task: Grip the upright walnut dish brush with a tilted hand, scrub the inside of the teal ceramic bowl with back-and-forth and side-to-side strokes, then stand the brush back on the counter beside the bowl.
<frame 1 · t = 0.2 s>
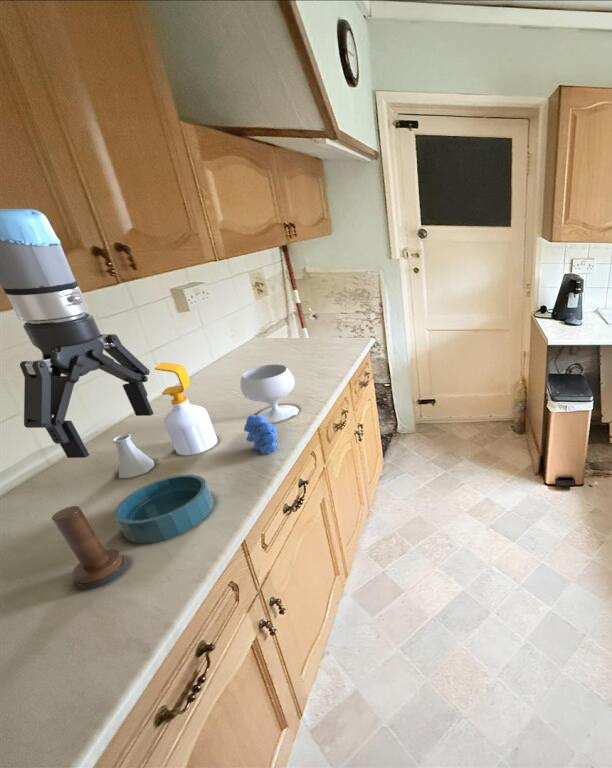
hand: (114, 434, 70), 24 cm above the countertop, tool pointing down, fingers open, 13 cm apart
dish brush: (105, 576, 71), on the countertop
soap bottle: (198, 448, 108), on the countertop
flask: (138, 472, 98), on the countertop
chalice: (277, 416, 124), on the countertop
grapes: (270, 452, 106), on the countertop
bowl: (172, 519, 84), on the countertop
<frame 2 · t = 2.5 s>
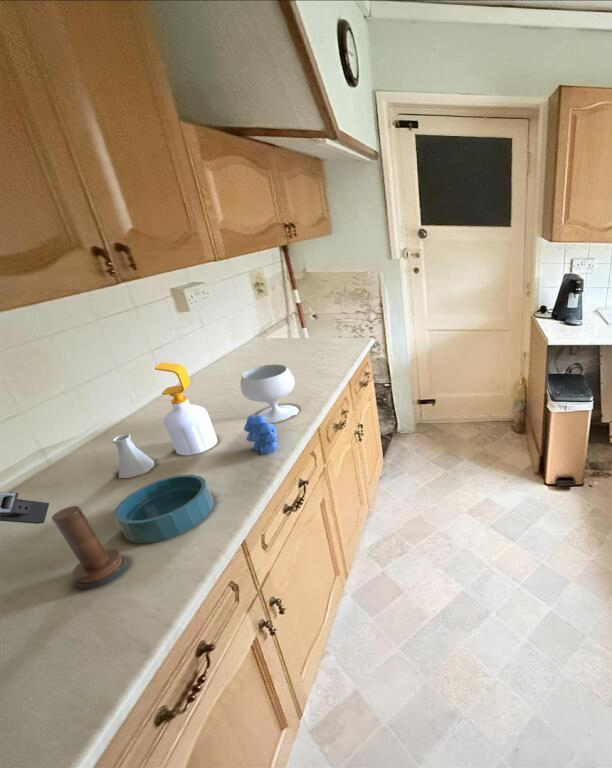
nothing on the countertop moved.
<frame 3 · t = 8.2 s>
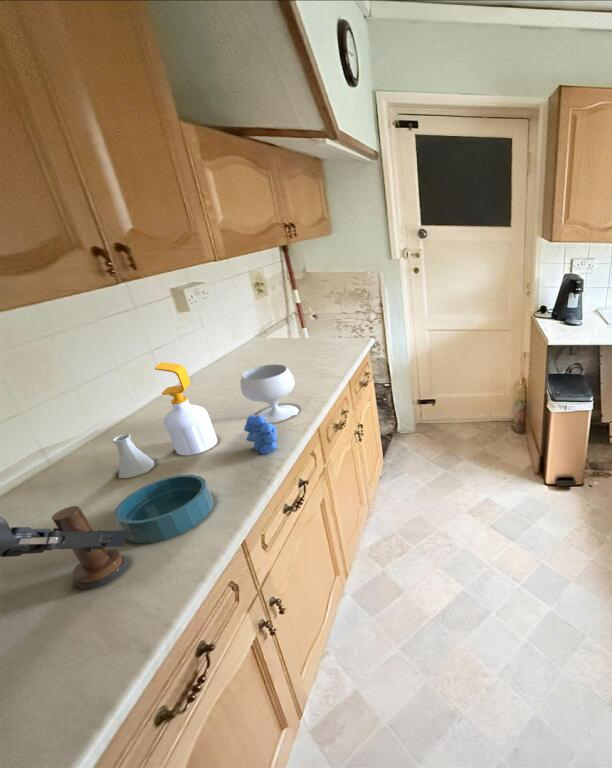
hand: (111, 538, 72), 5 cm above the countertop, tool tilted 45°, fingers closed on dish brush, 3 cm apart
dish brush: (105, 576, 71), on the countertop, touching gripper
everything else where it was.
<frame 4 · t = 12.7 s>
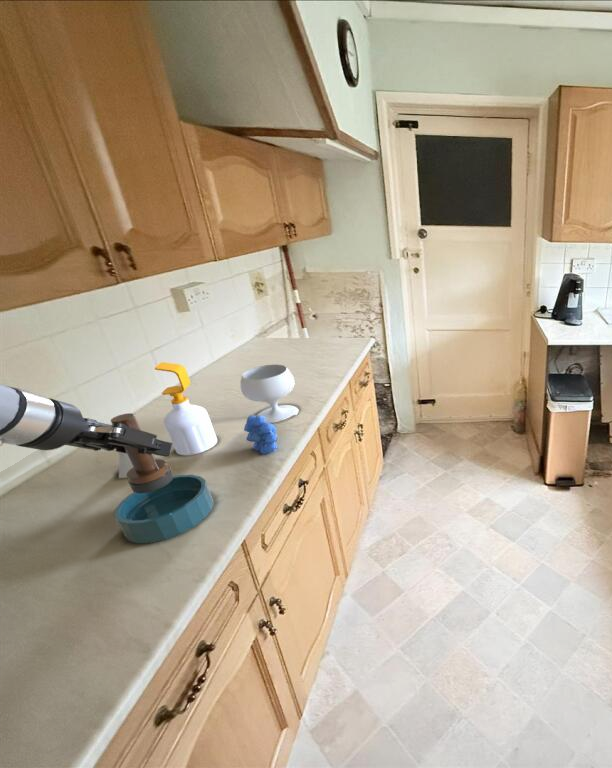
hand: (158, 450, 80), 15 cm above the countertop, tool tilted 45°, fingers closed on dish brush, 3 cm apart
dish brush: (153, 482, 79), point 10 cm above the countertop, touching gripper
everything else where it was.
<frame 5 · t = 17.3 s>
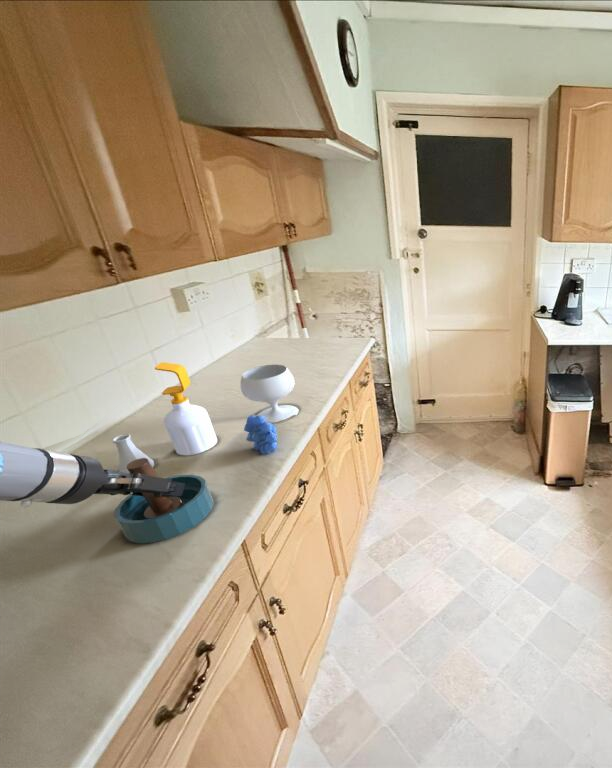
hand: (171, 490, 83), 6 cm above the countertop, tool tilted 45°, fingers closed on dish brush, 3 cm apart
dish brush: (169, 519, 82), point 1 cm above the countertop, touching gripper
everything else where it was.
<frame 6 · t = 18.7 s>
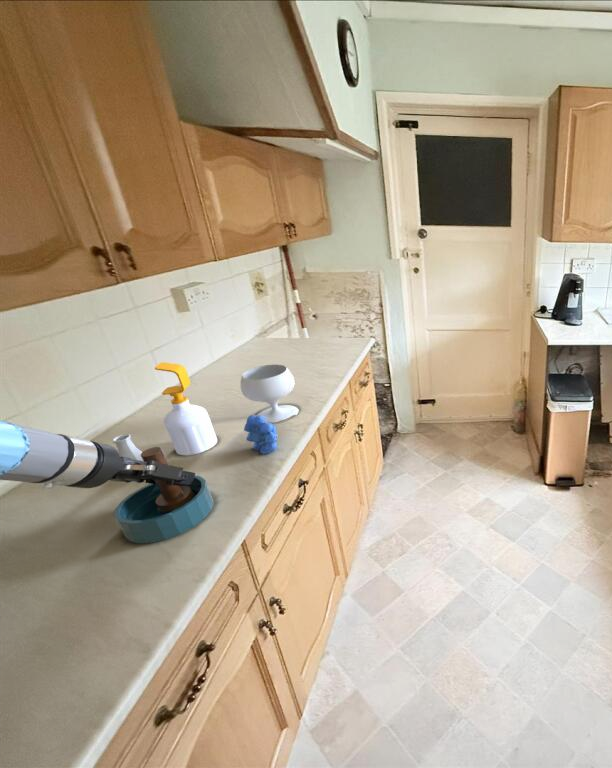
hand: (182, 479, 86), 6 cm above the countertop, tool tilted 45°, fingers closed on dish brush, 3 cm apart
dish brush: (179, 507, 85), point 1 cm above the countertop, touching gripper
everything else where it was.
when the fingers open (5 cm above the countertop, at t = 26.5 s): dish brush stays where it is, on the countertop.
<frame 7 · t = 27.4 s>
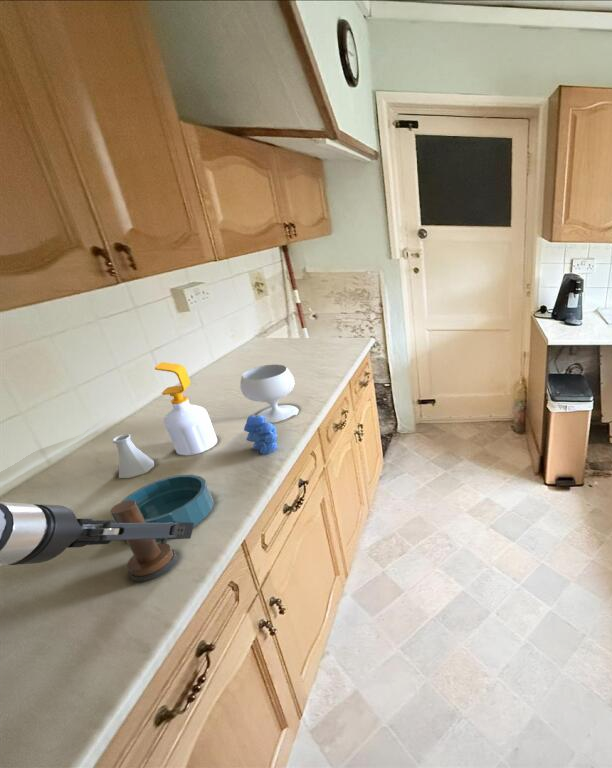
hand: (151, 531, 72), 7 cm above the countertop, tool tilted 45°, fingers open, 13 cm apart
dish brush: (156, 569, 72), on the countertop
everything else where it was.
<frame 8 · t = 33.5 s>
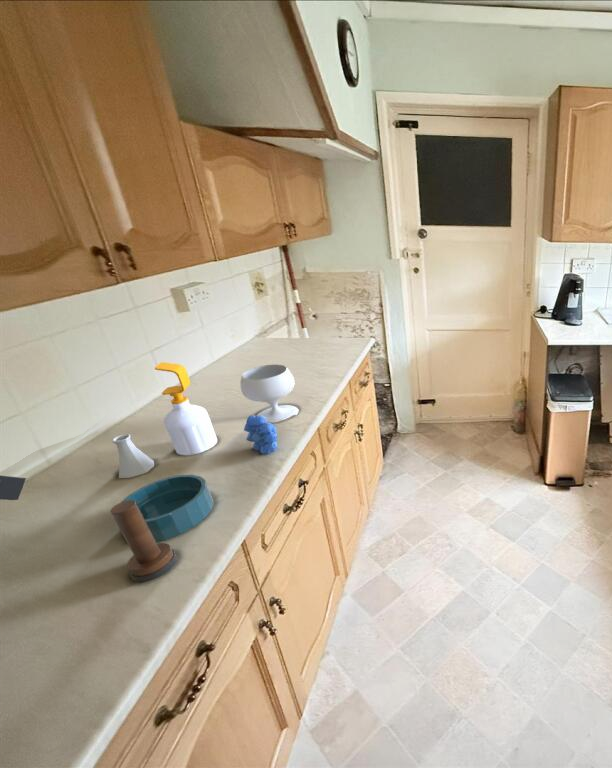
nothing on the countertop moved.
at the end: dish brush inside the target area (0.1 cm from its centre), on the countertop; dish brush tilted 0°; the gripper is holding nothing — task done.
